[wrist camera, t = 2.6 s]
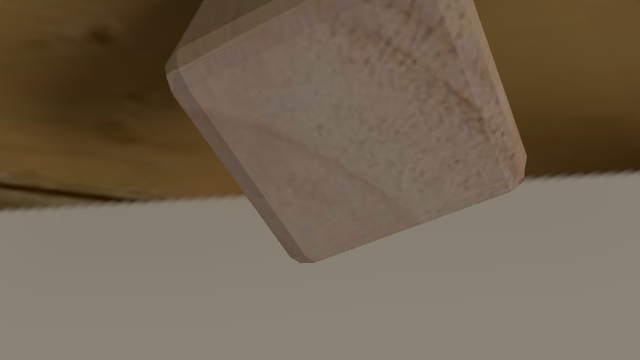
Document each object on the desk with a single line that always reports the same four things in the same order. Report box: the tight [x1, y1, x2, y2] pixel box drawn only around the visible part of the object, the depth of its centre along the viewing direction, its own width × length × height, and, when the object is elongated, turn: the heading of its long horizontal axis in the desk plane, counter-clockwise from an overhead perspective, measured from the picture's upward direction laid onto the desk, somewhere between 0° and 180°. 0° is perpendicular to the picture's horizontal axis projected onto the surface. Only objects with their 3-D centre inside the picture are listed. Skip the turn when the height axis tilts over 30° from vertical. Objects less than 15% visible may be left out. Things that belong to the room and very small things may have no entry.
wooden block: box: [165, 0, 527, 263], centre depth 27 cm, size 10×10×20 cm
